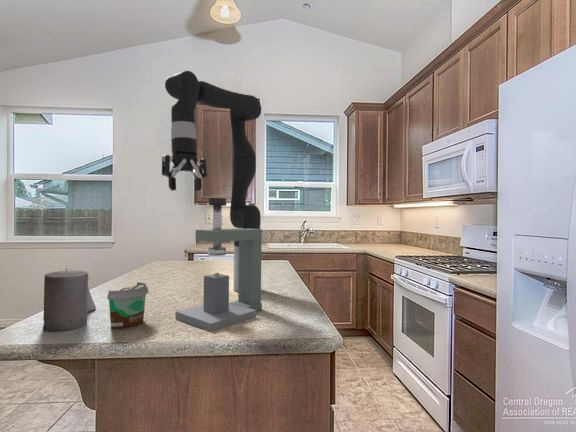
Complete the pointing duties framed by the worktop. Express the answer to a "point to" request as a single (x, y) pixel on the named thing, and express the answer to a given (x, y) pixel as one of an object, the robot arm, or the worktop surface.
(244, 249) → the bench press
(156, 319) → the worktop surface
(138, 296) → the food container
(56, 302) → the pillar candle
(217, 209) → the press ram
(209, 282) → the block
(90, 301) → the flask
